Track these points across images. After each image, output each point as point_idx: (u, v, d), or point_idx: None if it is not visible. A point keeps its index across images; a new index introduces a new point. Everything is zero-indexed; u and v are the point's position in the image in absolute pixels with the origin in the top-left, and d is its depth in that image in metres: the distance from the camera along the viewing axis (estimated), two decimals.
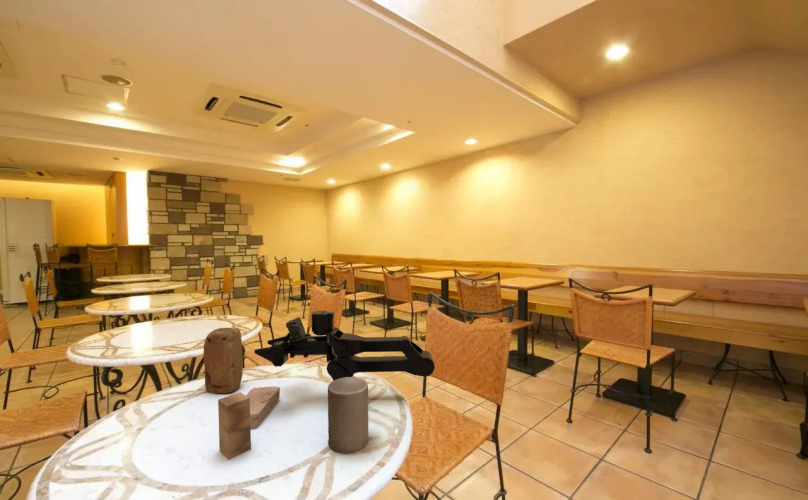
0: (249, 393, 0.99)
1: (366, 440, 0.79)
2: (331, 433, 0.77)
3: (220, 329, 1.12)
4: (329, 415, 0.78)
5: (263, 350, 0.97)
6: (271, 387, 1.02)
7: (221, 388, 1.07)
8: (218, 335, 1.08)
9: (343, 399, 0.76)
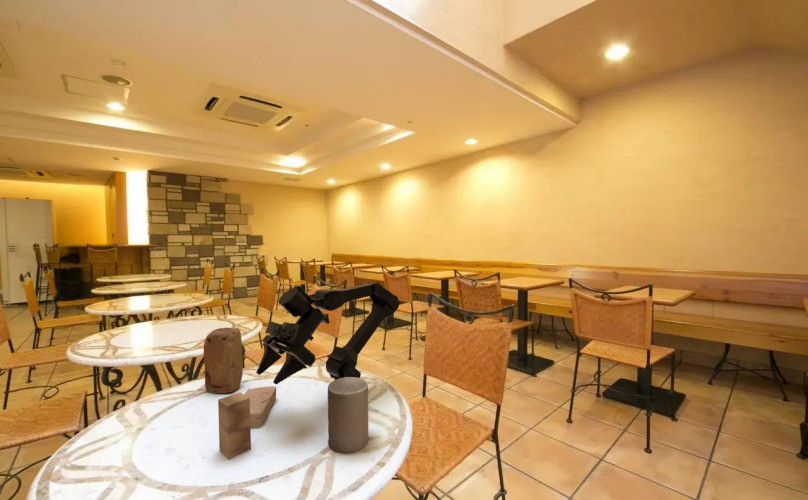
0: (246, 394, 0.98)
1: (366, 440, 0.79)
2: (331, 433, 0.77)
3: (220, 329, 1.12)
4: (329, 415, 0.78)
5: (283, 372, 0.82)
6: (267, 387, 1.02)
7: (221, 388, 1.07)
8: (218, 335, 1.08)
9: (343, 399, 0.76)
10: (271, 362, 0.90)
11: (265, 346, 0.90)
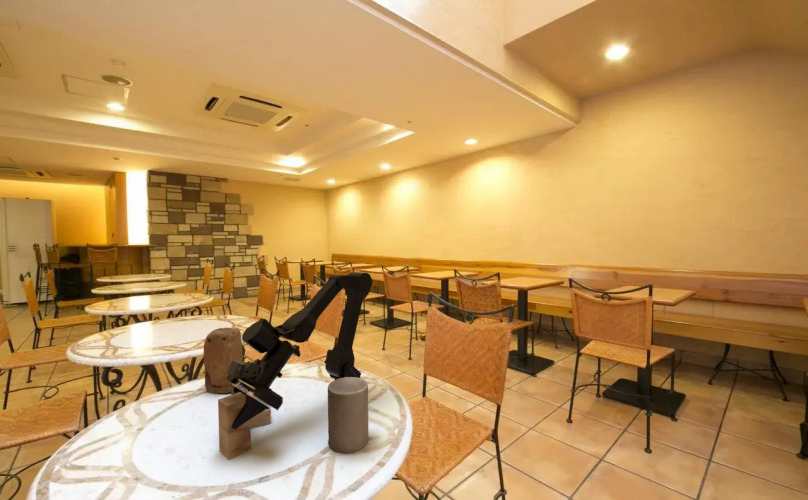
0: None
1: (366, 440, 0.79)
2: (331, 433, 0.77)
3: (220, 329, 1.12)
4: (329, 415, 0.78)
5: (242, 415, 0.76)
6: None
7: (221, 388, 1.07)
8: (218, 335, 1.08)
9: (343, 399, 0.76)
10: None
11: (232, 388, 0.81)
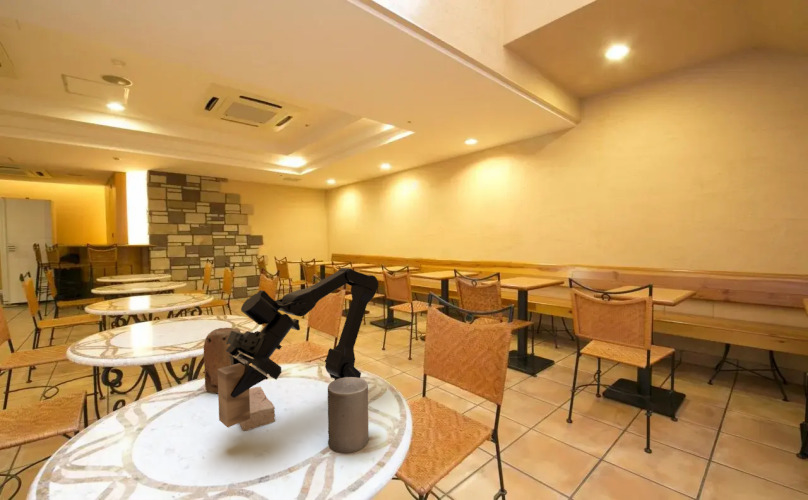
0: None
1: (366, 440, 0.79)
2: (331, 433, 0.77)
3: (220, 329, 1.12)
4: (329, 415, 0.78)
5: (241, 384, 0.76)
6: (252, 388, 1.01)
7: None
8: (218, 335, 1.08)
9: (343, 399, 0.76)
10: None
11: (232, 359, 0.82)
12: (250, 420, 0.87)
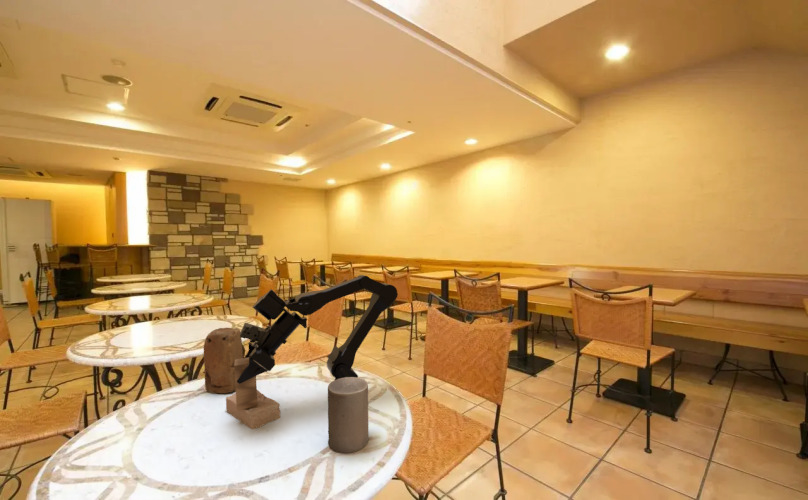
0: (234, 400, 0.94)
1: (366, 440, 0.79)
2: (331, 433, 0.77)
3: (220, 329, 1.12)
4: (329, 415, 0.78)
5: (245, 373, 0.86)
6: None
7: (221, 388, 1.07)
8: (218, 335, 1.08)
9: (343, 399, 0.76)
10: None
11: None
12: (258, 418, 0.88)
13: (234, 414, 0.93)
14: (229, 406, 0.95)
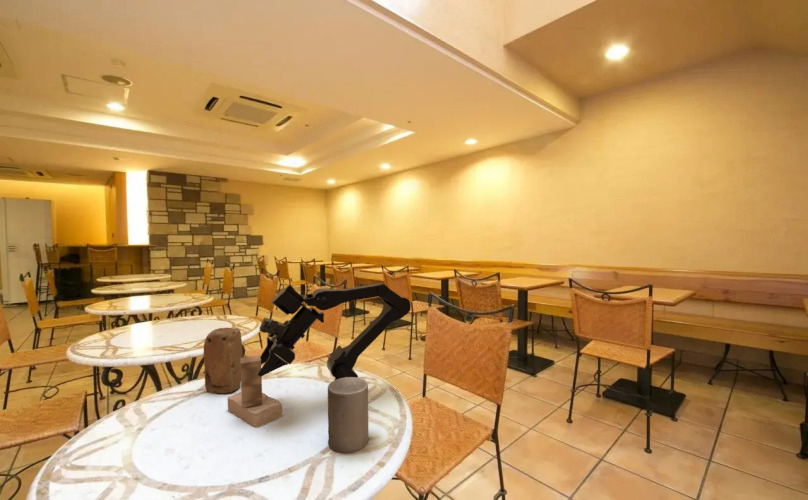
0: (236, 399, 0.95)
1: (366, 440, 0.79)
2: (331, 433, 0.77)
3: (220, 329, 1.12)
4: (329, 415, 0.78)
5: (266, 366, 0.88)
6: None
7: (221, 388, 1.07)
8: (218, 335, 1.08)
9: (343, 399, 0.76)
10: None
11: (267, 340, 0.99)
12: (261, 417, 0.88)
13: (236, 414, 0.93)
14: (231, 406, 0.95)
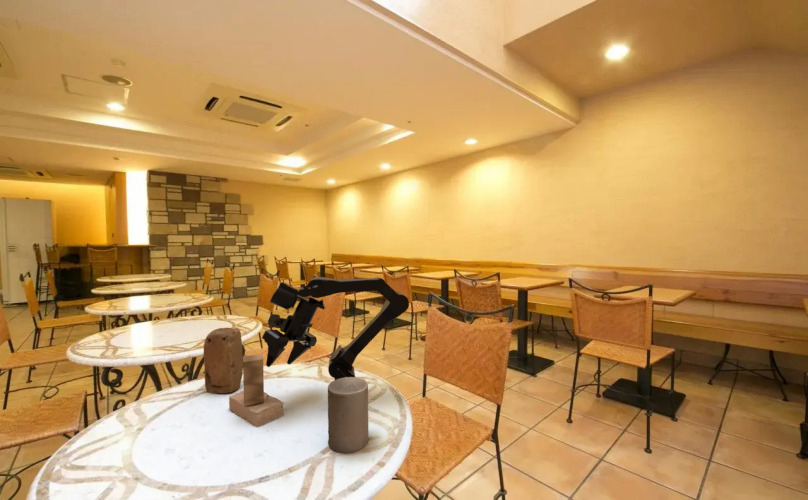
0: (238, 399, 0.95)
1: (366, 440, 0.79)
2: (331, 433, 0.77)
3: (220, 329, 1.12)
4: (329, 415, 0.78)
5: (268, 355, 0.94)
6: None
7: (221, 388, 1.07)
8: (218, 335, 1.08)
9: (343, 399, 0.76)
10: (297, 353, 1.03)
11: None
12: (262, 416, 0.89)
13: (238, 413, 0.94)
14: (232, 405, 0.96)
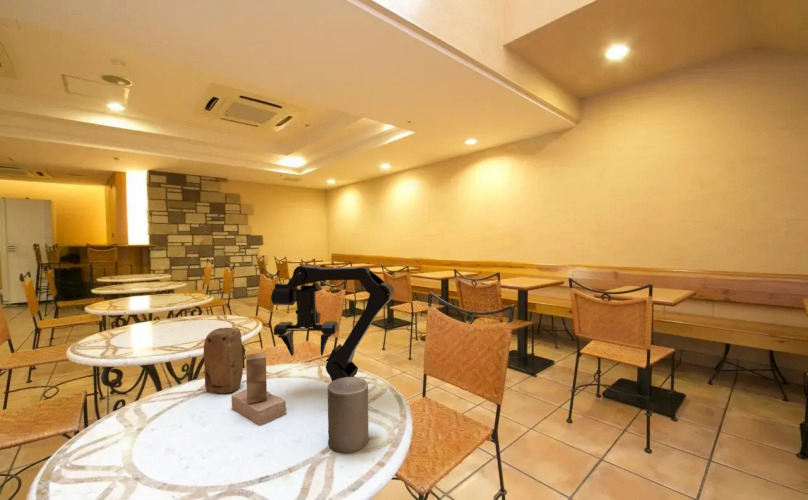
0: (240, 398, 0.96)
1: (366, 440, 0.79)
2: (331, 433, 0.77)
3: (220, 329, 1.12)
4: (329, 415, 0.78)
5: None
6: None
7: (221, 388, 1.07)
8: (218, 335, 1.08)
9: (343, 399, 0.76)
10: None
11: None
12: (265, 414, 0.89)
13: (240, 411, 0.94)
14: (235, 404, 0.96)
